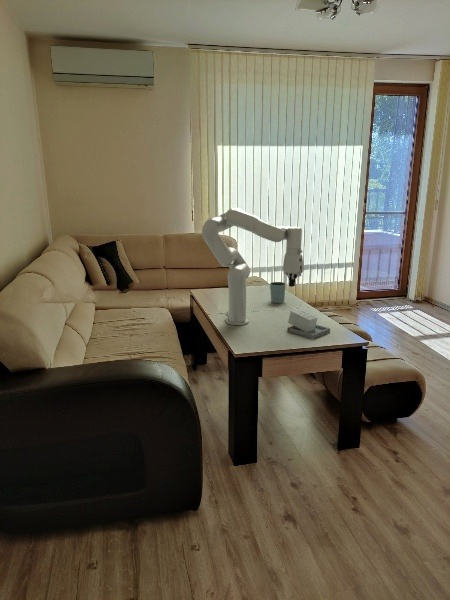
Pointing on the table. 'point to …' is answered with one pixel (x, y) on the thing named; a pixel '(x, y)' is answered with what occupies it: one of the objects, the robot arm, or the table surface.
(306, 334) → the grey rubber tray
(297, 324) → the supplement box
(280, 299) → the drinking glass
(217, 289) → the table surface
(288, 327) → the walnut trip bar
